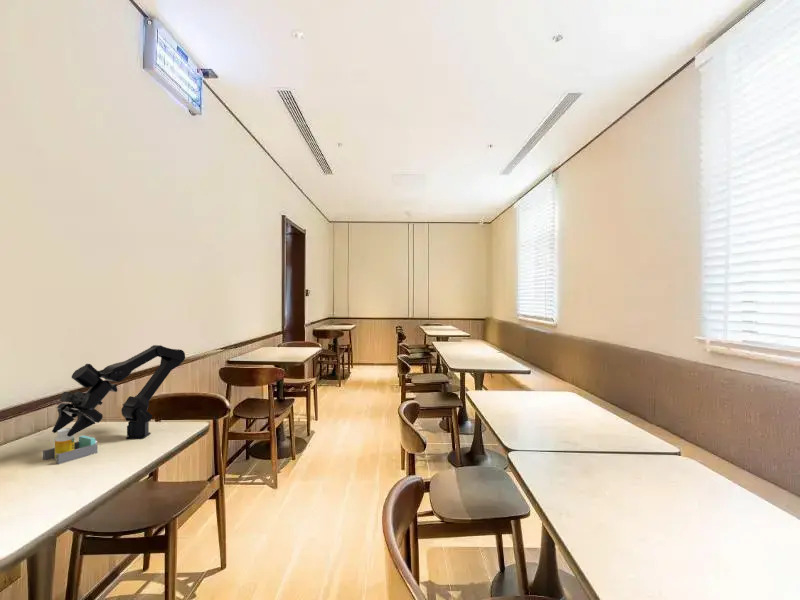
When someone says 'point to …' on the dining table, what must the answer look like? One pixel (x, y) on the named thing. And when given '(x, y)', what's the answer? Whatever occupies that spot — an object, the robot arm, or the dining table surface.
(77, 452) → the lane
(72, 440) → the supplement bottle
